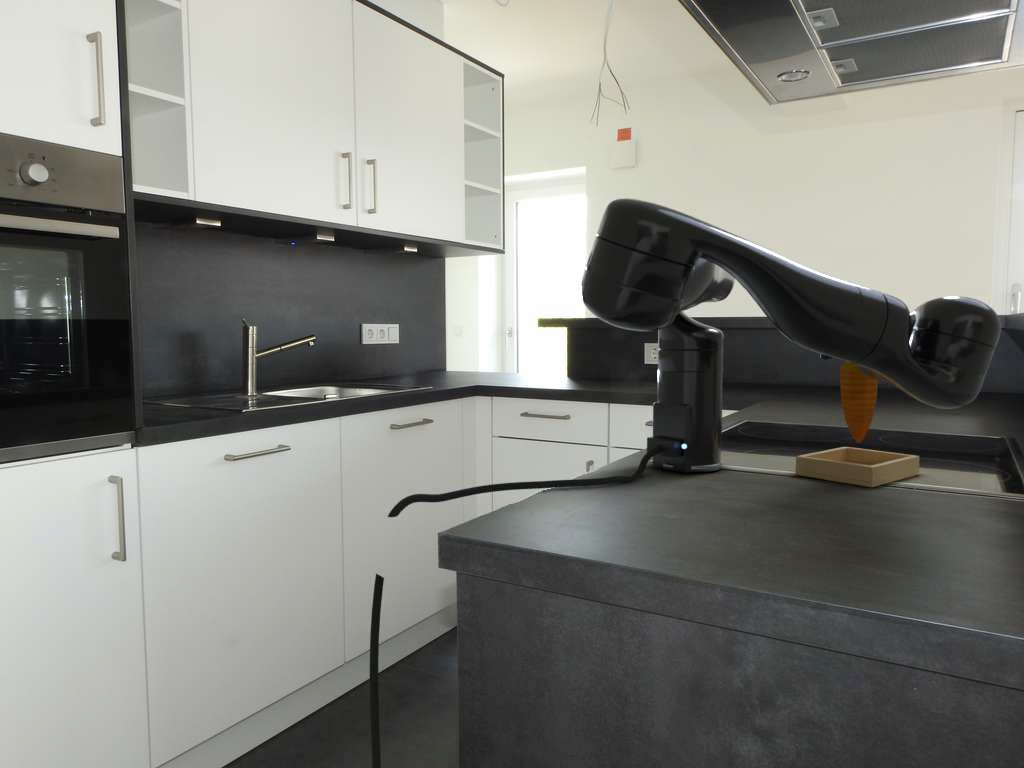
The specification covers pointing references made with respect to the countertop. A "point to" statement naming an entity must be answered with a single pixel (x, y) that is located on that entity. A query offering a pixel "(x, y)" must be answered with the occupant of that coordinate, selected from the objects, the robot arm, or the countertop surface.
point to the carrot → (857, 399)
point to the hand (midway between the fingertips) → (856, 348)
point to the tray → (857, 466)
